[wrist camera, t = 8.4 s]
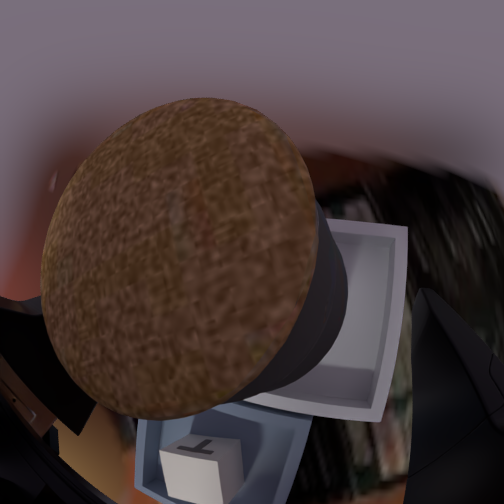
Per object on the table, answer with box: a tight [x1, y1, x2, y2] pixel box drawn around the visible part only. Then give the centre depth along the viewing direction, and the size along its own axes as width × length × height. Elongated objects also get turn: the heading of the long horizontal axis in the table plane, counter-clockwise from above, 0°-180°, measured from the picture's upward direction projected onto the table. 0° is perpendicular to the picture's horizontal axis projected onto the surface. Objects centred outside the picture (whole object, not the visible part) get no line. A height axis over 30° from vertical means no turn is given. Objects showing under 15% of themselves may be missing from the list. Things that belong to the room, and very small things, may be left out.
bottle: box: [40, 98, 348, 421], centre depth 10 cm, size 6×6×15 cm
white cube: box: [159, 434, 245, 504], centre depth 13 cm, size 4×4×4 cm
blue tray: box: [135, 400, 313, 504], centre depth 14 cm, size 12×12×2 cm
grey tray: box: [244, 218, 408, 422], centre depth 16 cm, size 12×12×2 cm
